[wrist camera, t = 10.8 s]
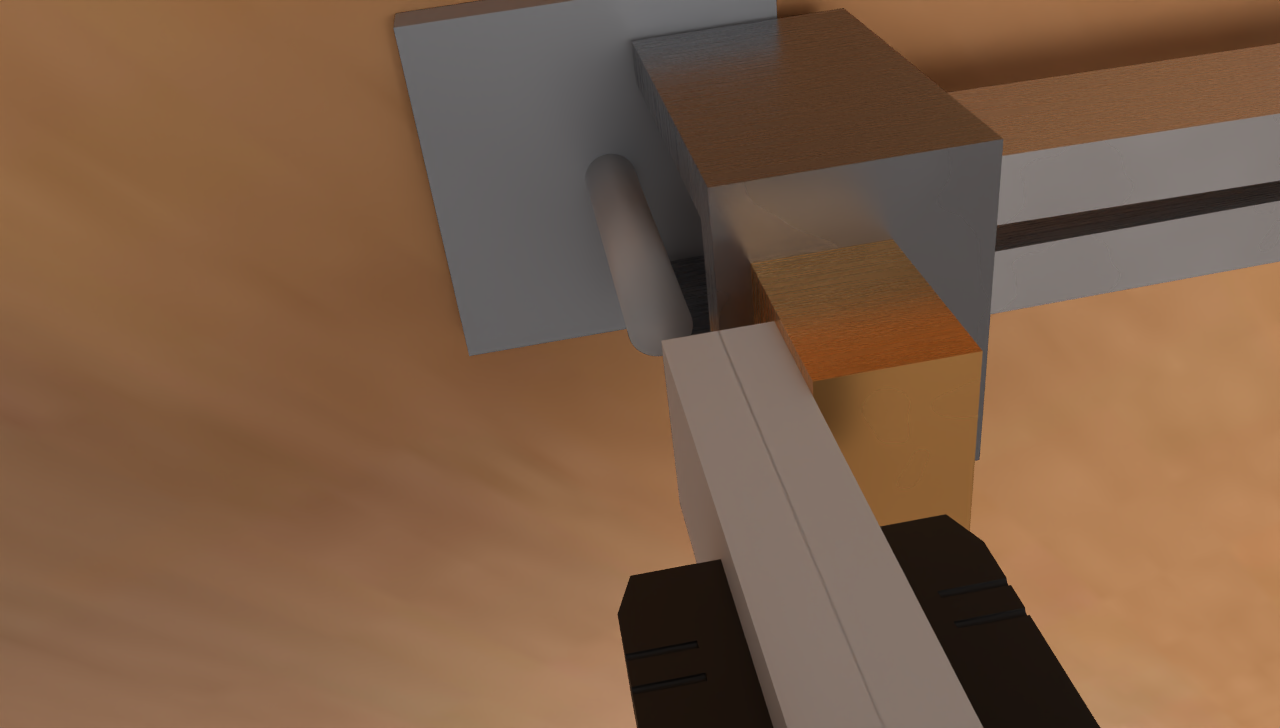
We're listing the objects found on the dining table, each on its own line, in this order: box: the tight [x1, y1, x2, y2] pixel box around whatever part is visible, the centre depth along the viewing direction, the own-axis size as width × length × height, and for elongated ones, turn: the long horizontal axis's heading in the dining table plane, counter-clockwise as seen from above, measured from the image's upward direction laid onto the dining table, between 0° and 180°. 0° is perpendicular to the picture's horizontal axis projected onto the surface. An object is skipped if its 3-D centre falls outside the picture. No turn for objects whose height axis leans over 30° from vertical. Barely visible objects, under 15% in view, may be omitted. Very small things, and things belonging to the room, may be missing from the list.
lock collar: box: [632, 8, 1003, 531], centre depth 17 cm, size 4×5×10 cm
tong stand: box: [393, 0, 777, 356], centre depth 20 cm, size 24×16×7 cm, turn 96°
